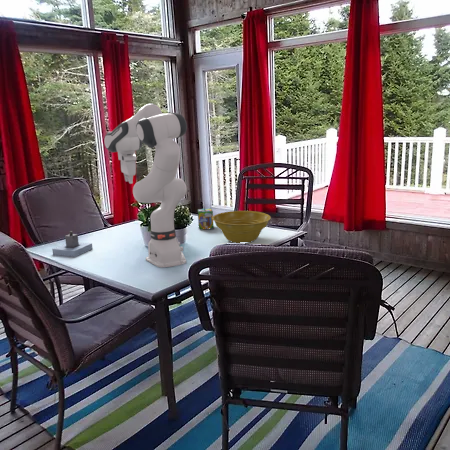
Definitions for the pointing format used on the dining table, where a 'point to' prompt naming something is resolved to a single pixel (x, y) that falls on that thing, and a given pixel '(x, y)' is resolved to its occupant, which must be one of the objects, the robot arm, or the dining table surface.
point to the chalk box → (205, 218)
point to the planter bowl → (241, 225)
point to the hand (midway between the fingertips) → (128, 182)
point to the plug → (71, 240)
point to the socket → (72, 249)
